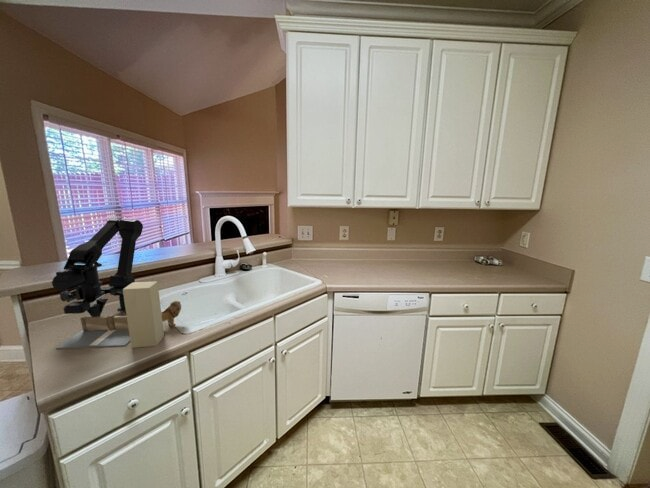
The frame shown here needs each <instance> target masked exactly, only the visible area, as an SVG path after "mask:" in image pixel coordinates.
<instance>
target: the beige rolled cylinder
mask: <svg viewBox="0 0 650 488" xmlns="http://www.w3.org/2000/svg"><path fill="white" fill-rule="evenodd" d="M107 316H108V315H107ZM107 316H106V315H105V316H100V317H92V316H83V317H80V324H81V328H82V330H83V331H87V330H108V329H109V324H108V319H107Z"/></svg>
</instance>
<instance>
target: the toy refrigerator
mask: <svg viewBox="0 0 650 488" xmlns="http://www.w3.org/2000/svg"><path fill="white" fill-rule="evenodd" d="M159 291H160V290H159V283H158V281H155V280H154V281H135V282H133V283H131V284H130V285H128V286H127V287H125V288H124V289H123V296H124V302H125V309H126V310H125V313H126V315H125V316H127V322H128V328H129V335H130V347H131V348H133V349H134V348H136V349H137V348H146V347H147V348H149V347H156V346H158V344H159V343H160V342H161V340H162V339H163V338H164V337H165V334H164V333H165V331H164V323H163V322H164V321H163V322H162V314H161V312H162V309H161V300H160V292H159Z"/></svg>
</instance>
